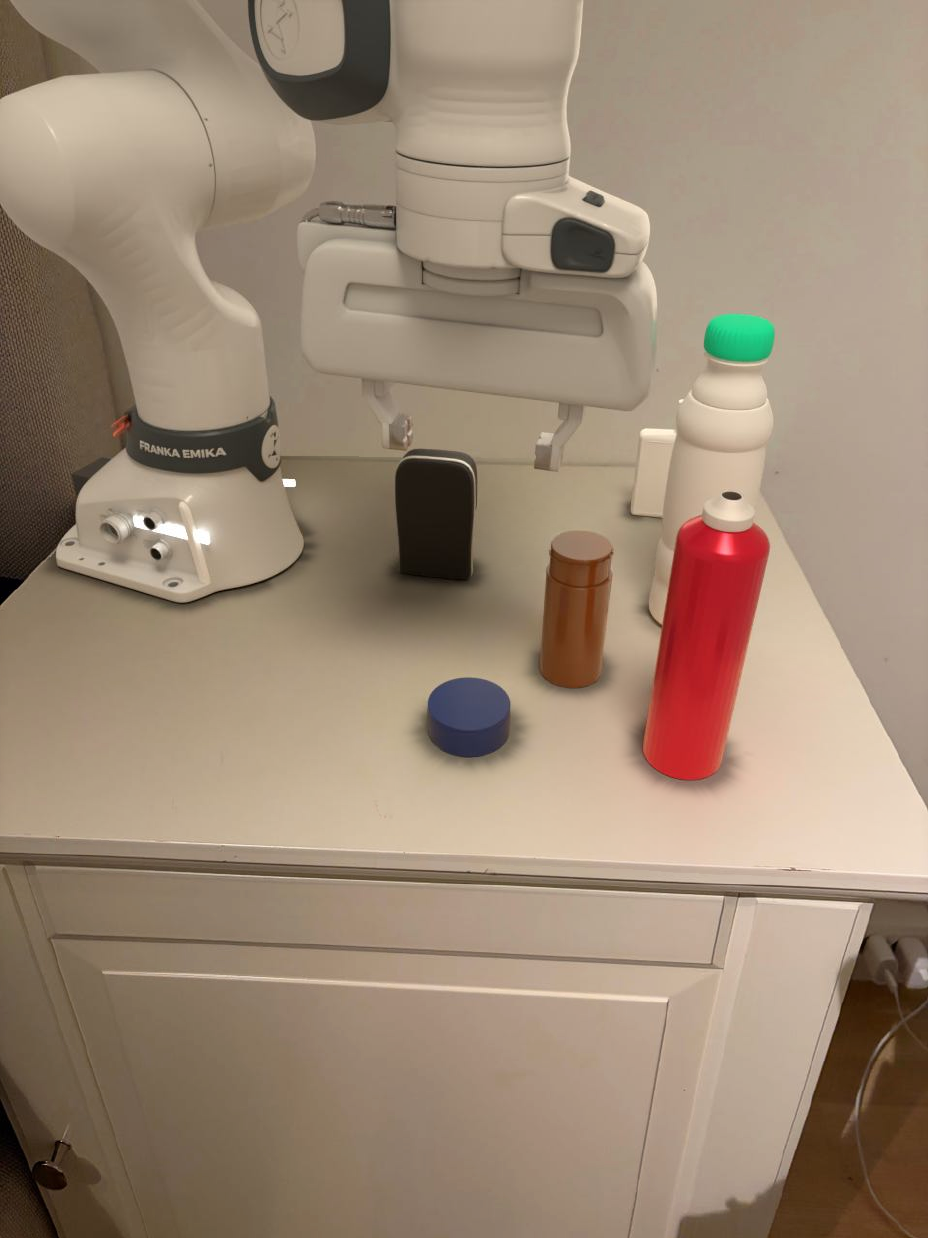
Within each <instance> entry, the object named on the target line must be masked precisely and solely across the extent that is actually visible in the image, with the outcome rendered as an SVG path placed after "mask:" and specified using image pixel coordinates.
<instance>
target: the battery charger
mask: <svg viewBox="0 0 928 1238" xmlns="http://www.w3.org/2000/svg"><path fill="white" fill-rule="evenodd" d="M394 472H395V475H394V501H395V502H394V503H395V504H394V505H395V519H396V530H397V538H398V569H399V570H398V571H399V573H402V574H408V575H414V576H415V575H416V576H422V577H423V576H424V577H431V578H442V579H443V578H444V579H457V580H468V579H470V578H471V577H472V576H473V572H474V537H475V536H474V535H475V521H476V512H477V509H478V508H477V507H478V470H477V464H476V462H475V460H474V458H473V457H472V456H471V455H470V454H468V453H466V452H462V451H456V450H447V449H437V448H436V449H435V448H413V449H409V450H407V451H406V453H405V454H404V455H403V456H402V459H400V461H399V462H398V464H397V466H396V468H395V471H394Z"/></svg>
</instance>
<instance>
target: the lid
mask: <svg viewBox="0 0 928 1238" xmlns="http://www.w3.org/2000/svg"><path fill="white" fill-rule="evenodd" d="M510 723H511V700H510V697H509V695H508V693H507V692H506V691H505V689H504V688H502V687H501V686H500V685H498V684H497V683H495V682H493V681H491V680H487V679H484V678H479V677H471V676H469V677H468V676H467V677H466V676H465V677H459V678H458V677H457V678H453V679H450V680H446V681H445V682H443V683H441V684H439V685H437V686H436V687H435V688H434V689H433V690H432V691H431V693H430V694H429V696H428V698H427V732H428V733H427V734H428V736H429V738H430V740H431V742H432V743H433V744H434V745H435V746H436V747H437V748H438V749H440V750H441V751H442V752H445V753H447V754H450V755H451V756H452V755H453V756H457V757H463V758H475V757H476V758H477V757H482V756H486V755H489V754H491V753H494V752H496V751H497V750H499V749H500V748H501V747H502V746H503V745H504V744H505V743H506V742H507V740H508V738H509V736H510V726H511V725H510Z"/></svg>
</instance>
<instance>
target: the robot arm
mask: <svg viewBox="0 0 928 1238" xmlns="http://www.w3.org/2000/svg"><path fill="white" fill-rule="evenodd" d="M9 1H10V3H11V5H12V6H13V7H14V8H15V10H16V11H17V12H18V14H19V15H20V16H21V17H22V18H23V19H24V20H25V21H26V22H27V23H28V24H29V25H30V26H31V27H32V28H34V30H36V31H37V32H39V33H40V34H42V35H43V36H45V37H47V38H48V39H50V40H52V41H53V42H56V43H58V44H60V45H61V46H64V47H65V48H67V49H69V50H71V51H72V52H74V53H75V54H77V55H78V56H80V57H81V58H82V59H84V60H85V61H87V62H88V63H89V64H90V65H91V66H93V67H94V68H95V69H96V70H97V71H98V72H99V73H86V74H85V73H84V74H70V75H62V76H59V77H56V78H52V79H49V80H46V81H42V82H39V83H37V84H34V85H31V86H28V87H25V88H22V89H20V90H18V91H15V92H12V93H9V94H7V95H5V96H3V97H1V98H0V206H1V208H2V210H3V211H4V212H5V214H6V215H7V217H8V218H9V219H10V221H12V222H13V223H14V225H15V226H16V227H17V228H18V229H19V230H20V231H21V232H22V233H24V235H25V236H27V237H28V238H29V239H31V240H32V241H33V242H34V243H36V244H38V245H39V246H41V247H43V248H45V249H46V250H48V251H50V252H52V253H53V254H55V255H57V256H59V257H60V258H61V259H63V260H65V261H66V262H67V263H69V264H70V265H71V266H73V268H75V269H76V270H77V271H78V272H79V273H80V274H81V275H82V276H83V277H84V278H85V279H86V280H87V282H88V283H89V284H90V285H91V286H92V288H93V289H94V290H95V292H96V293H97V295H98V296H99V297H100V298H101V300H102V302H103V303H104V305H105V307H106V308H107V310H108V312H109V314H110V316H111V318H112V320H113V323H114V325H115V328H116V331H117V334H118V337H119V340H120V345H121V348H122V351H123V355H124V359H125V363H126V367H127V370H128V375H129V379H130V384H131V387H132V393H133V398H134V402H135V405H133V406H131V407H129V408H128V409H127V410H125V411H124V412H123V416H122V417H121V418H119V419H118V420H116V421H115V422H114V423H112V424H111V425H110V427H111V428H112V429H113V428H115V430H114V431H113V434H112V437H114V438H118V436H120V435H122V434H123V433H124V432H126V431H127V438H126V444H125V447H124V448H123V449H122V450H120V451H119V452H118V453H117V454H116V455H115V456H113V457H112V458H108V457H103V456H102V457H100V458H98V459H96V460H94V461H92V462H90V463H89V464H87V465H85V466H83V467H81V468H80V469H78V470H76V471H74V472H72V473H71V474H70V475H71V479H72V484H73V487H74V492H75V496H76V502H75V524H74V525H73V526H72V527H70V529H69V530H68V531H67V532H66V533H65V534H64V536H63V537H62V538H61V539H60V541H59V543H58V545H57V547H56V550H55V560H56V565H57V566H58V567H59V568H62V569H65V570H68V571H71V572H73V573H78V574H81V575H84V576H87V577H91V578H94V579H98V580H102V581H104V582H108V583H110V584H114V585H118V586H121V587H124V588H127V589H131V590H134V591H137V592H141V593H144V594H148V595H150V596H154V597H157V598H161V599H164V600H167V601H171V602H173V603H180V604H181V603H183V604H184V603H189V602H193V601H196V600H199V599H202V598H204V597H206V596H208V595H211V594H213V593H216V592H219V591H224V590H230V589H234V588H240V587H245V586H249V585H253V584H255V583H259V582H262V581H265V580H267V579H270V578H272V577H274V576H275V575H278V574H280V573H282V572H283V571H285V570H286V569H288V568H289V567H290V566H292V565H293V564H294V563H295V562H296V561H297V560H298V559H299V557H300V556H301V554H302V552H303V550H304V548H305V547H304V545H305V539H304V536H303V534H302V532H301V530H300V528H299V525H298V522H297V521H296V518H295V516H294V513H293V510H292V508H291V503H290V500H289V497H288V494H287V491H286V487H289V488H291V487H292V488H294V487H296V480H295V479H289V478H283V473H282V468H281V464H282V443H281V433H280V429H279V422H278V415H277V413H278V412H277V407H276V402H275V400H274V399H273V397H272V396H270V388H269V387H270V386H269V380H268V379H269V378H268V370H267V362H266V361H267V360H266V353H265V344H264V335H263V328H262V327H263V326H262V320H261V318H260V316H259V314H258V312H257V311H256V309H255V308H254V306H253V305H252V304H251V303H250V302H249V300H248V299H246V297H244V296H243V295H242V294H241V293H239V292H238V291H236V290H235V289H233V288H232V287H230V286H227V285H225V284H224V283H221V282H217V281H216V280H213V279H211V278H209V276H208V274H207V273H206V271H205V269H204V267H203V264H202V262H201V259H200V256H199V254H198V248H197V244H196V234H198V233H203V232H208V231H212V230H219V229H222V228H227V227H232V226H237V225H241V224H246V223H251V222H255V221H257V220H260V219H262V218H264V217H267V216H269V215H270V214H272V213H275V212H276V211H279V210H280V209H283V208H284V207H285V206H287V205H289V204H291V203H292V202H294V201H296V200H298V199H299V198H300V197H301V196H302V195H304V193H305V192H306V191H307V189H308V187H309V186H310V183H311V181H312V178H313V176H314V172H315V166H316V158H317V145H316V135H315V131H314V127H313V123H312V121H315V122H320V123H324V124H328V125H329V124H330V125H333V126H352V125H360V124H361V125H362V124H371V123H380V122H385V123H392V124H393V126H394V128H395V133H396V135H395V147H394V150H395V151H394V156H395V157H394V159H395V160H394V161H395V165H394V166H395V167H394V168H395V205H391V204H390V205H389V204H388V205H386V204H373V203H368V204H364V203H363V204H351V203H346V202H344V201H340V200H339V201H338V200H326V201H325V200H324V201H321V202H320V203H319V205H318V207H315V208H312V209H311V210H309V211H307V212H306V213H304V215H303V216H302V217H301V219H300V221H299V223H298V225H297V230H296V235H295V236H296V237H295V238H296V249H297V250H296V251H297V262H298V265H299V266H298V267H299V269H300V271H301V273H302V275H303V281H302V282H303V283H302V293H301V302H300V304H301V305H300V330H299V331H300V351H301V356H302V357H303V358H304V360H305V362H306V363H307V365H308V366H309V367H310V368H311V369H312V371H313V372H314V373H316V374H322V375H329V376H337V377H347V378H353V379H361V396H362V398H363V399H364V400H365V402H366V403H367V405H368V407H369V409H370V410H371V412H372V414H373V415H374V417H375V418H376V420H377V422H378V423H379V424H380V425H381V427H380V429H381V446H382V448H383V449H387V450H396V451H402V452H408V449H409V447H411V445H412V442H413V437H414V431H413V430H412V427H413V425H414V419H413V418H414V416H413V414H406V413H401V411H400V410H399V407H398V406H397V404H396V402H395V400H394V398H393V396H392V393H391V392H390V390H391V388H392V387H393V386H394V385H395V384H403V385H411V386H418V387H419V386H420V387H427V388H436V389H443V390H451V391H459V392H460V391H461V392H467V393H475V394H483V395H484V394H485V395H491V396H500V397H508V398H516V399H525V400H526V399H527V400H533V401H540V402H548V403H549V402H550V403H557V404H558V410H557V411H558V412H557V418H558V420H560V421H562V422H561V423H560V424H559V426H558V428H557V429H556V430H555V431H554V433H553V432H543V431H541V432H540V434H539V436H538V439H537V440H536V442H535V448H534V449H535V450H534V455H535V459H534V461H533V462H534V463H533V469H534V470H541V471H548V472H555V473H559V472H560V469H561V467H562V464H563V458H564V451H565V450H564V449H565V445H566V444H567V442H568V441H569V440H570V438H571V437H572V436H573V434H574V433H575V432H576V431H577V430H578V428H579V427H580V426H581V424H582V422H583V420H584V418H585V415H586V413H587V409H588V407H590V408H596V409H597V408H598V409H606V410H613V411H621V412H633V411H634V410H635V411H636V409H637V408H639V407H640V406H641V405H642V404H643V403H644V402H645V401H646V400H647V399H649V397H650V395H651V391H652V388H653V381H654V374H655V367H656V358H657V345H658V294H657V293H658V292H657V286H656V282H655V279H654V276H653V274H652V272H651V270H650V268H649V267H648V265H647V264H646V263H645V262H644V258H645V255H646V253H647V250H648V247H649V242H650V235H651V223H650V217H649V215H648V213H647V212H646V211H645V210H644V209H643V208H641V207H640V206H638V205H636V204H634V203H631V202H629V201H627V200H624V199H622V198H620V197H618V196H615V195H613V194H610V193H608V192H605V191H603V190H601V189H599V188H596V187H594V186H592V185H589V184H588V183H585V182H584V181H581V180H579V179H576V178H574V177H572V176H571V175H570V162H571V153H572V152H571V149H572V148H571V147H572V145H571V144H572V143H571V137H570V131H569V126H568V118H567V117H568V115H567V113H568V112H567V105H568V94H569V90H570V89H569V88H570V85H571V82H572V78H573V76H574V75H573V74H574V72H575V69H576V66H577V64H578V59H579V55H580V49H581V38H582V37H581V36H582V35H581V34H582V24H583V23H582V22H583V10H584V0H247V14H248V24H249V31H250V36H251V41H252V46H253V49H254V52H255V56H256V58H257V61H258V62H256V61H255V60H254V59H252V58H251V57H250V56H249V55H248V54H246V53H245V52H244V51H243V50H242V49H241V48H240V47H239V46H238V45H237V44H236V43H235V42H234V41H233V40H232V39H231V38H230V37H229V36H228V35H227V34H226V33H225V32H224V31H223V30H222V28H220V27H219V25H218V24H217V23H216V21H215V20H214V19H213V18H212V17H211V16H210V14H209V13H208V12H207V11H206V9H205V8H204V7H203V6H202V5H201V3H200V2H199V1H198V0H9ZM317 217H319V220H315V218H317Z"/></svg>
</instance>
